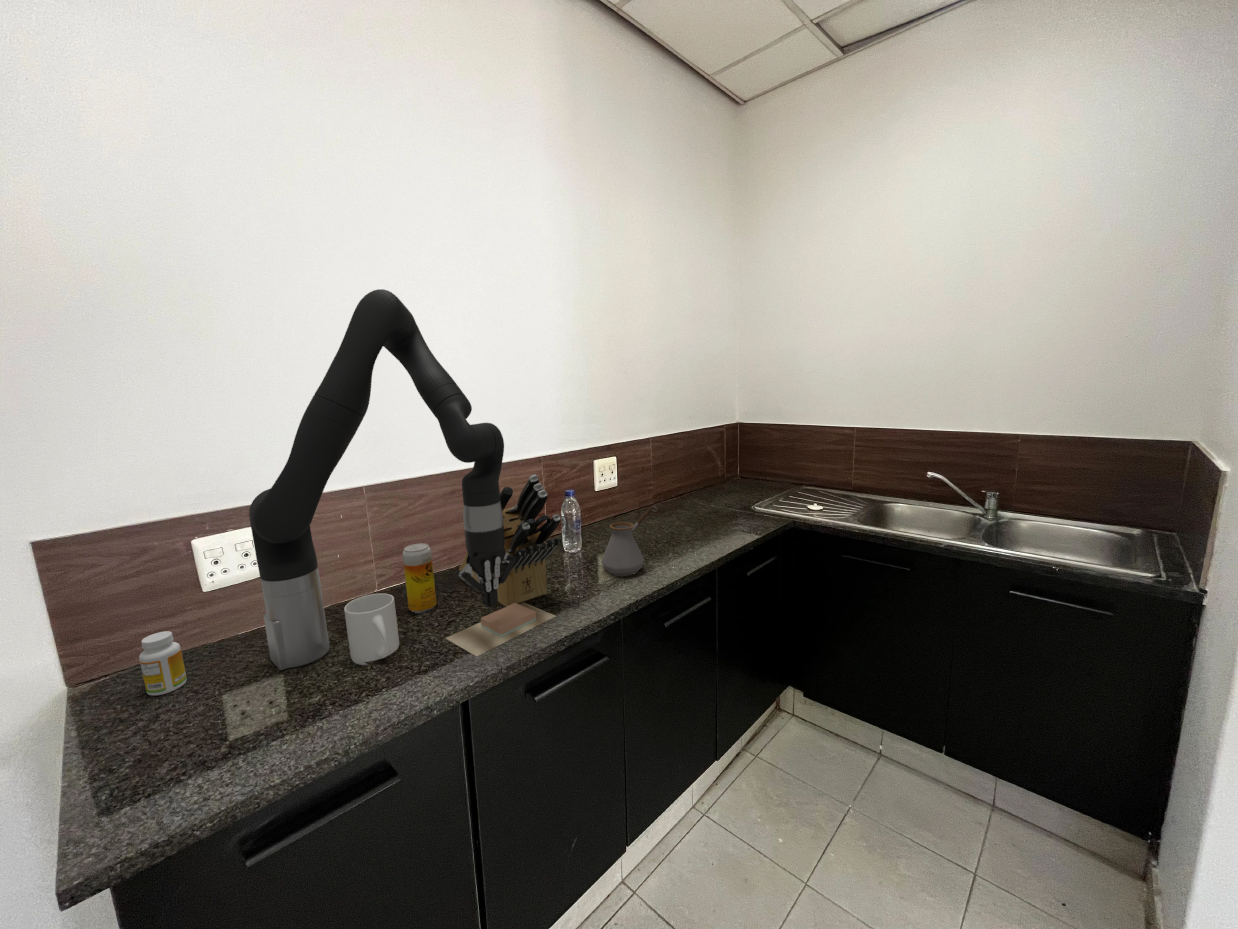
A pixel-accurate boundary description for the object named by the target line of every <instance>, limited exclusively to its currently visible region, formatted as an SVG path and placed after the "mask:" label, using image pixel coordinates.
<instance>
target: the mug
mask: <svg viewBox="0 0 1238 929" xmlns="http://www.w3.org/2000/svg"><path fill="white" fill-rule="evenodd" d="M343 610H344V618H345V625H346V632H347V640H348V645H349V646H348V647H349V653H350V658H351V660H352V661H353V663H354V664H356V665H360V666H369V664H368V663H367V662H374V661H378V660H381V659H384V658H387V657H388V656H390V655H392V654H393V653H395V652H396V651H397V650H398V649H399V647H400V638H399V629H398V619H397V613H396V612H397V611H396V603H395V597H394V596H393V595H392V594H389V593H384V592H383V593H382V592H381V593H372V594H366V595H363V596H360V597H356V598H355V599H353V600H351V601H349V602H348V603H346V605H345V606H344V608H343Z"/></svg>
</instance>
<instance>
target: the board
mask: <svg viewBox="0 0 1238 929" xmlns="http://www.w3.org/2000/svg"><path fill="white" fill-rule="evenodd" d="M519 605H522V606H524V607H526V608H529V609H531V610H534V611H536V621H534V622H532V623H530V624H528V625H526V626H524V627H522V628H520V629H518V630H516V631H514V632H512V633H510V634H508V635H506V636H504V637H500V636H498V635H496V634H494V633H492V632H490V631H488V630H486V629H484V628H482V627H481V621H480V622H478V623H476V624H473V625H471V626H469V627H467V628H464V629H462V630H460V631H457V632H456V633H454V634H451V635H449V636H447V637H445V639H446V640H447V641H450V643H453V644H454V645H456V646H457V647H459V648H460V649H463V650H464V651H466V652H468V653H470V654H471V655H473V656H475V657H479V656H480V655H483V654H484V653H487V652H489V651H490V650H492V649H495V648H496V647H498V646H500V645H502V644H505V643H506V642H508V641H511V640H513V639H514V638H516V637H519V636H520V635H522V634H524V633H526V632H528V631H529V630H532V629H534V628H535V627H539V626H540V625H541V624H544V623H546V622H548V621H550V620H552V619H554V618H555V617H557V616H556V615H554V614H553V613H549V612H547V611H545V610H543V609H540V608H538V607H535V606H533V605H531V604H528V603H526V602H521V603H519Z"/></svg>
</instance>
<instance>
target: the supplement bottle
mask: <svg viewBox="0 0 1238 929" xmlns="http://www.w3.org/2000/svg"><path fill="white" fill-rule="evenodd" d="M141 647H142V649H143V651H141V652H140V654H139V657H138V660H139V664H140V668H141V671H142V672H141V673H142V678H143V681H144V682H143V683H144V686H145V692H146V694H147V695H148V696H162V695H165V694H168V693H171V692H173V691H175V690H177V689H179V688H181V687H182V686H184V685H185V684H186V683H187V674H186V673H187V672H186V667H185V663H184V658H183V657H184V656H183V653H182V652H183V651H182V648H181V645H180V643H178V642H176V641H174V636H173V632H172V631H170V630H169V631H168V630H166V631H165V630H164V631H160V632H156V633H153V634H150V635H147V636H146V637H144V638H142V640H141Z"/></svg>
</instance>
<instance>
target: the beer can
mask: <svg viewBox="0 0 1238 929" xmlns="http://www.w3.org/2000/svg"><path fill="white" fill-rule="evenodd" d="M432 556H433V554H432V549H431V547H430V546H429V544H428V543H414V544H410V545H407V546H405V547H404V548H403V551H402V561H403V571H404V579H405V589H406V596H407V606H408V610H409V611H411V613H413V612H415V613H414V614H423V613H426V612H429V611H430V610H433V609H434V608H435V606H436V605H437V595H436V585H435V584H436V583H435V576H434V574H435V573H434V566H433V557H432Z"/></svg>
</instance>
